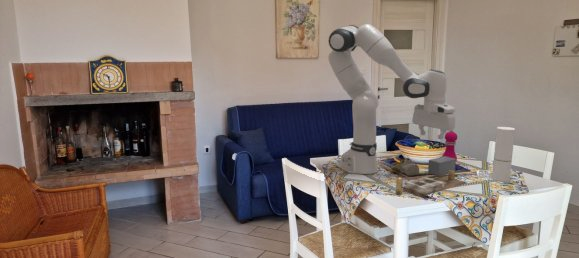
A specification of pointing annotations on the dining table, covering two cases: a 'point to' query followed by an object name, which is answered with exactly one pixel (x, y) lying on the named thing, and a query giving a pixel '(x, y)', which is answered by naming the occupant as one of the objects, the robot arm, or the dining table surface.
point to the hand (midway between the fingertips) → (431, 136)
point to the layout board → (449, 185)
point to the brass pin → (399, 185)
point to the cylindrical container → (503, 154)
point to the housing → (441, 166)
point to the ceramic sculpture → (406, 167)
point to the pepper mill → (450, 144)
